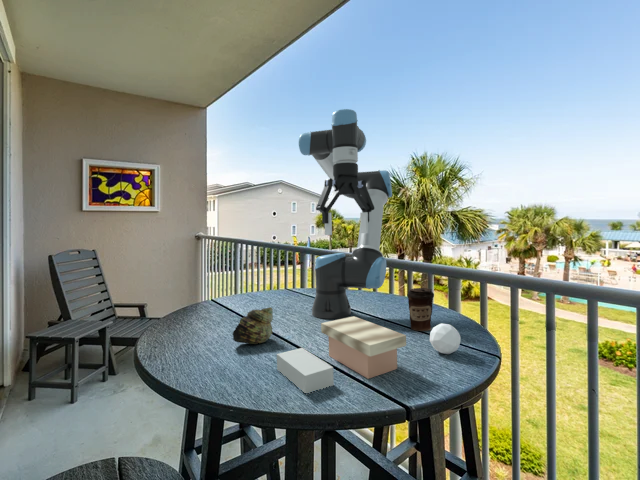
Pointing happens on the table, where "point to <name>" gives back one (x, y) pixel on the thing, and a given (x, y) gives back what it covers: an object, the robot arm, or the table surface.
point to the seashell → (254, 327)
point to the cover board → (364, 335)
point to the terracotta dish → (362, 359)
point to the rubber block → (305, 370)
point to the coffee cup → (420, 308)
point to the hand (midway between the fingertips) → (347, 234)
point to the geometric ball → (445, 338)
